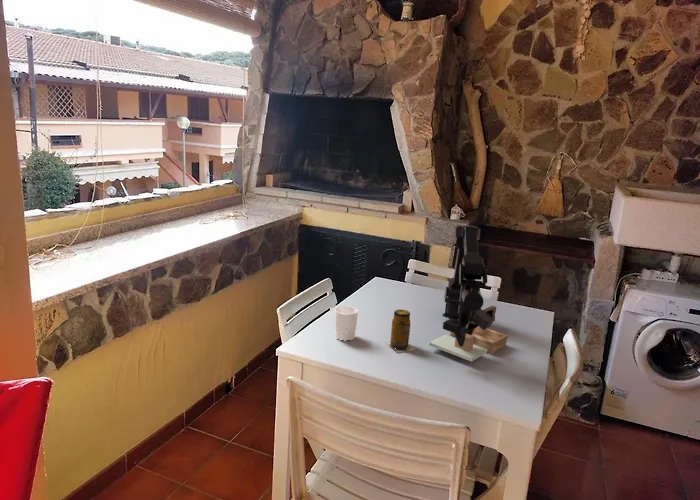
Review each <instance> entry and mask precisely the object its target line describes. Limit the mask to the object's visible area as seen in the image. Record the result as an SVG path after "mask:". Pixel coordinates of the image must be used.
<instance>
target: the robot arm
mask: <svg viewBox="0 0 700 500" xmlns="http://www.w3.org/2000/svg"><path fill="white" fill-rule="evenodd" d="M453 230H454V232H453V239H454V240H455V245H456V247H457V253H456V258H455V264H454V265H455V266H454V271H453V272H454V273H453V276H452V277H451V278H450V279H449V280H448V283H447V286H446V287H445V290H444V294H443V295H444V296H443V297H444V298H443V301H444V303H445V309H444V313H442V316H443V317H446V318H449V319H446V320H445V321H443V322H442V329H443V330H445V331H447V332H450V333H451V332H453V333H454V334H455V336H456V339H457V341H458V344H459V346H461V347H463V344H464V340H465V336H466V334H469V335H472V333H473V331H474V329H475V328H476V327H478V326H479V327H480V328H481V329H483V330H485V329H489V328H490V327H491V326H492V324H493V323H494V322H496V313H495V311H493V310H492V309H491V310H489V311H486V310H484V309H482V308H483V306H484V298H483V296H482V293H481V288H486V284H487V283H488V269H487V266H486V265H485V264H484V258H483V257H482V256H480V254H479V247H478V246H479V244H478V241H479V240H480V239H481V228H479V227H477V226H474V225H457V226H456V227H455V228H454V229H453Z"/></svg>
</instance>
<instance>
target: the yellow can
mask: <svg viewBox="0 0 700 500" xmlns="http://www.w3.org/2000/svg"><path fill="white" fill-rule="evenodd" d="M410 317H411V313H410V311H408V310H406V309H402V308H401V309H396V310H394V312H393V318H392V321H391V331H390V332H391V333H390V341H385V342H384V343H385V344H386V345H387V346H388V347H389V348H391V349H392V350H393V351H395V352H396V353H405V352H406V353H407V352H410V351H416V350H417V348H415V347H413V346H412V345H411V344H409V340H410V333H411V319H410ZM395 348H396V349H395Z"/></svg>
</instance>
